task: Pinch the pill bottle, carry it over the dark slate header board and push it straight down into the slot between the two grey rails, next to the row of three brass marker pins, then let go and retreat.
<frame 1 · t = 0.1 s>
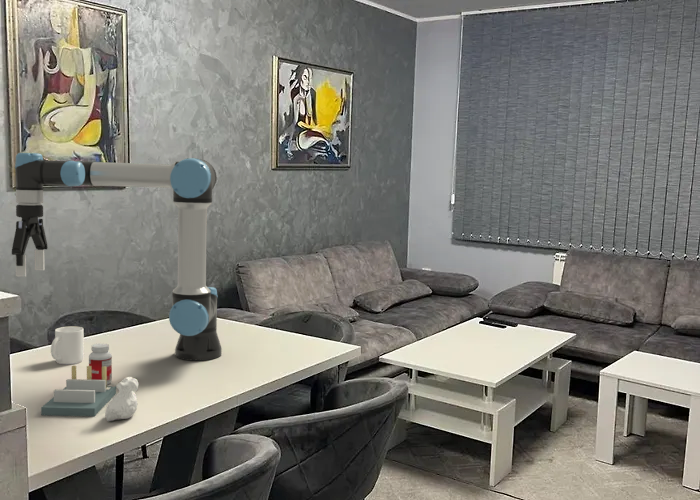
hand: (30, 273, 215), 28 cm above the table, fingers open, 13 cm apart
pill bottle: (100, 383, 200), on the table
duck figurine: (123, 418, 173), on the table
mug: (65, 363, 219), on the table
header board: (80, 403, 182), on the table
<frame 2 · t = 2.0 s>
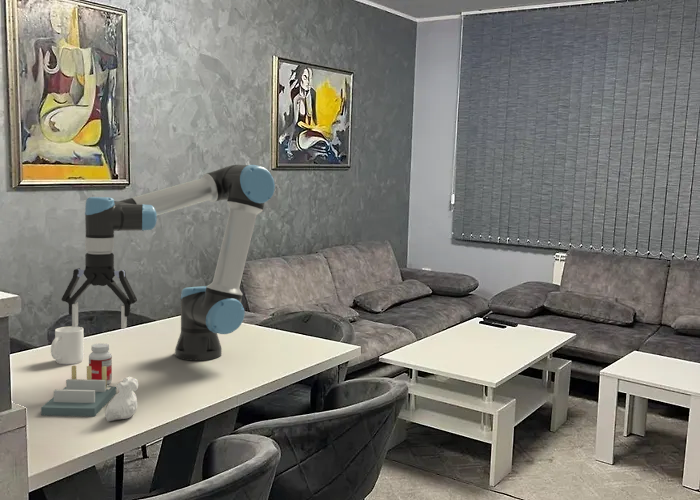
hand: (99, 327, 198), 16 cm above the table, fingers open, 13 cm apart
nothing on the table moved.
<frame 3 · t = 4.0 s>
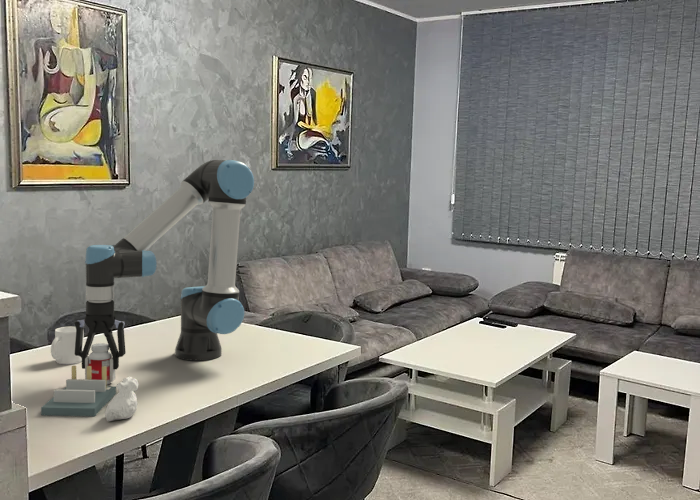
hand: (100, 379, 200), 1 cm above the table, fingers closed on pill bottle, 6 cm apart
pill bottle: (100, 383, 200), on the table, touching gripper
everything else where it was.
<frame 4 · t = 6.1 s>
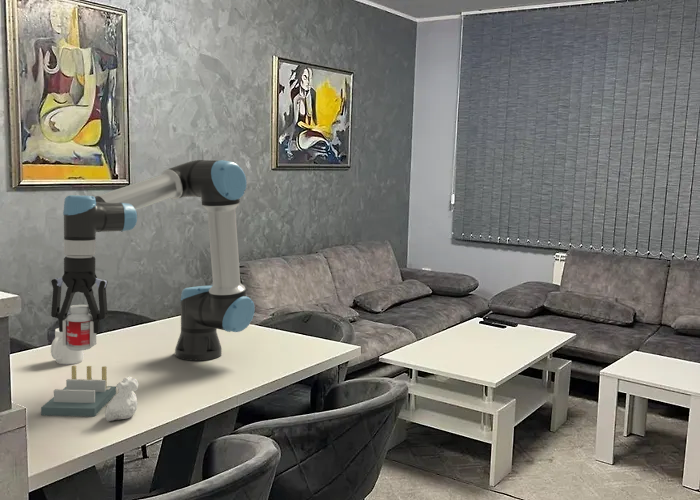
hand: (79, 344, 181), 16 cm above the table, fingers closed on pill bottle, 6 cm apart
pill bottle: (79, 348, 181), point 14 cm above the table, touching gripper
everything else where it was.
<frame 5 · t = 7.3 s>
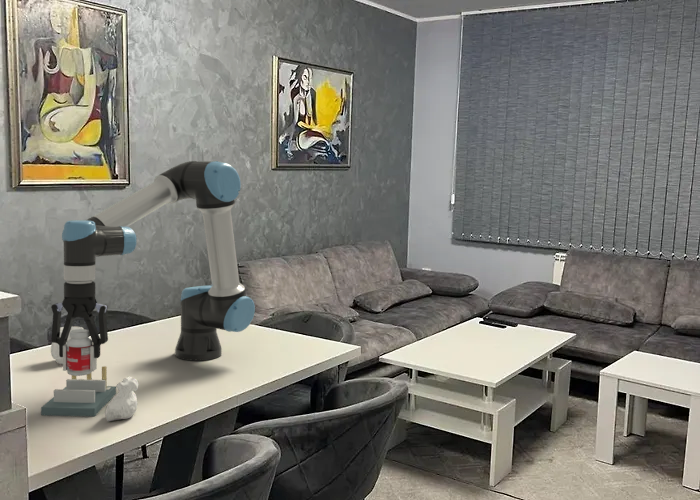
hand: (79, 369, 181), 9 cm above the table, fingers closed on pill bottle, 6 cm apart
pill bottle: (79, 373, 181), point 8 cm above the table, touching gripper
everything else where it was.
when the fingers open (5 cm above the table, at t = 8.4 s): pill bottle drops 2 cm, resting on header board.
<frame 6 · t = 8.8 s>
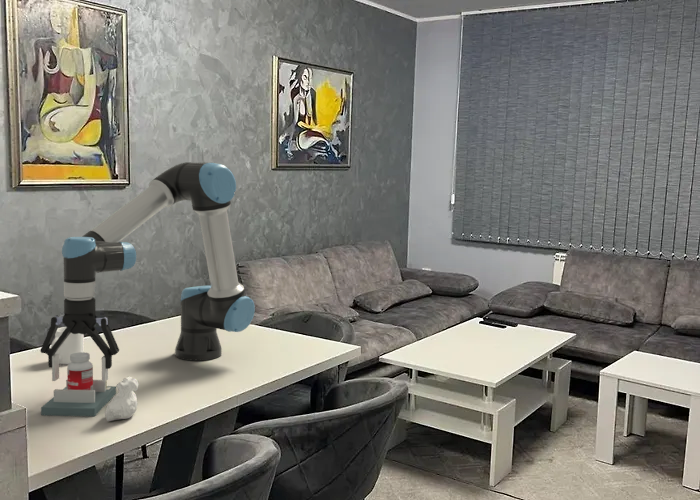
hand: (80, 380, 181), 6 cm above the table, fingers open, 12 cm apart
pill bottle: (80, 396, 182), point 2 cm above the table, touching header board
everything else where it was.
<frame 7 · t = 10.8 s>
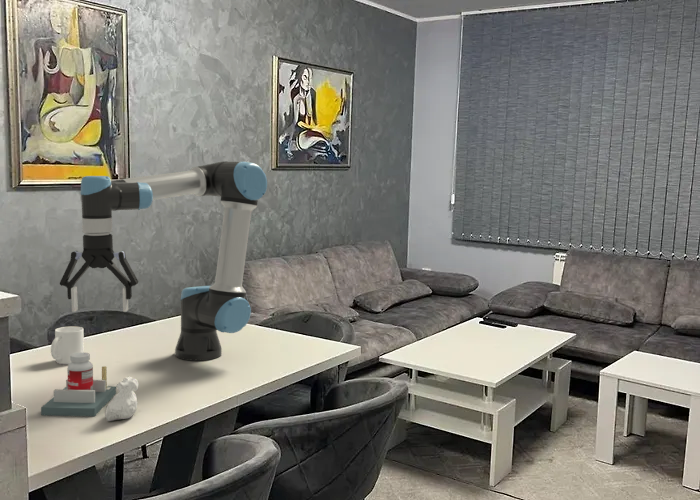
hand: (100, 311, 191), 22 cm above the table, fingers open, 13 cm apart
nothing on the table moved.
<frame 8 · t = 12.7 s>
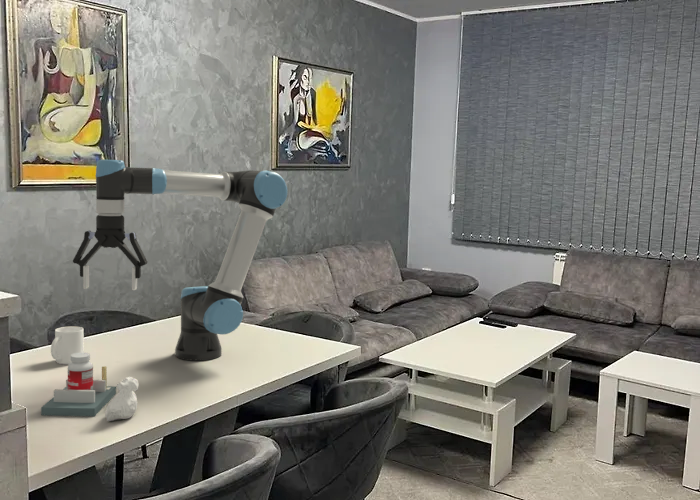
hand: (110, 289, 200), 27 cm above the table, fingers open, 13 cm apart
nothing on the table moved.
at the end: pill bottle inside the target area on the header board (0.0 cm from its centre), point 1.8 cm above the header board's base; pill bottle tilted 0°; the gripper is holding nothing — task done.
